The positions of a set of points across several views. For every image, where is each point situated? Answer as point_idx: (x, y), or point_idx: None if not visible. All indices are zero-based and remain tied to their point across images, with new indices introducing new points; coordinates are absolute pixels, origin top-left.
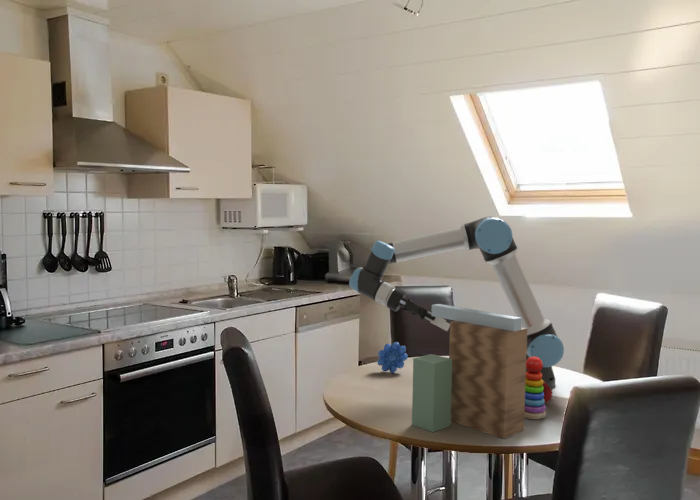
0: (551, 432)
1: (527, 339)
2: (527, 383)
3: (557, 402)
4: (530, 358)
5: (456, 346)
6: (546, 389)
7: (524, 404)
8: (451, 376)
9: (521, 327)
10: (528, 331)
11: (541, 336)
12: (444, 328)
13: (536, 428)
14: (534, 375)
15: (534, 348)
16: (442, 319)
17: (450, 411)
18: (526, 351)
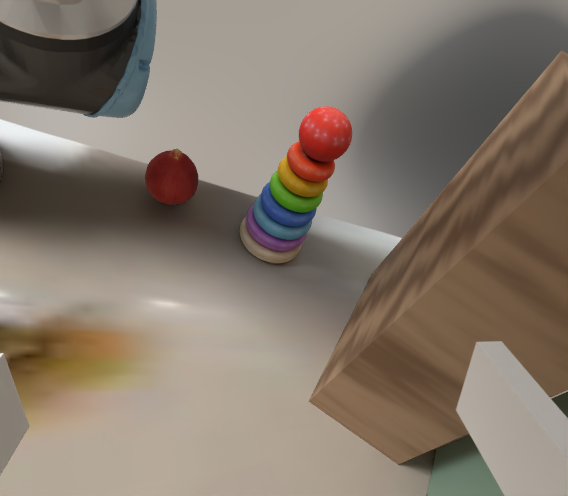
0: (355, 229)
1: (114, 43)
2: (322, 192)
3: (142, 169)
4: (344, 125)
5: None
6: (193, 164)
7: (404, 236)
8: (561, 396)
9: (564, 57)
10: (117, 2)
11: (152, 4)
12: (2, 450)
13: (347, 249)
14: (333, 161)
15: (148, 68)
16: (522, 377)
17: (466, 437)
18: (499, 124)
